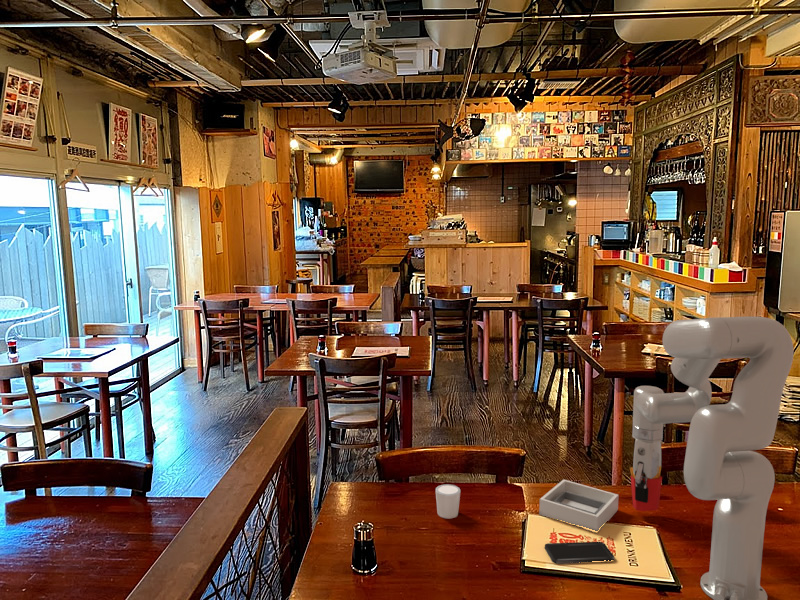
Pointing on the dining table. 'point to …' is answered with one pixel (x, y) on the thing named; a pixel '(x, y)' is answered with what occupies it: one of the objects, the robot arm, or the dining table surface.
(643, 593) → the dining table surface
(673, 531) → the dining table surface
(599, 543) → the phone
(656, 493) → the french fries
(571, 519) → the walled box
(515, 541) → the dining table surface
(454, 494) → the shot glass
